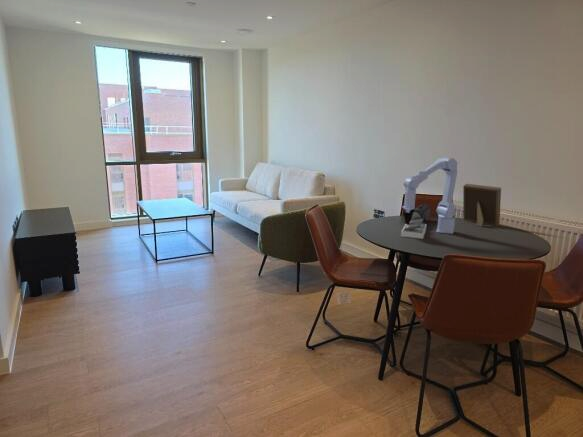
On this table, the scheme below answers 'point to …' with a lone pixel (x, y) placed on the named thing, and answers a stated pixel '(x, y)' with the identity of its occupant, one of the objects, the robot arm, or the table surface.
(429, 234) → the table surface
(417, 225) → the near rocker
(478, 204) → the photo frame
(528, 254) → the table surface
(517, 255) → the table surface
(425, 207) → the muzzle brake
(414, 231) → the switch panel
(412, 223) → the far rocker
